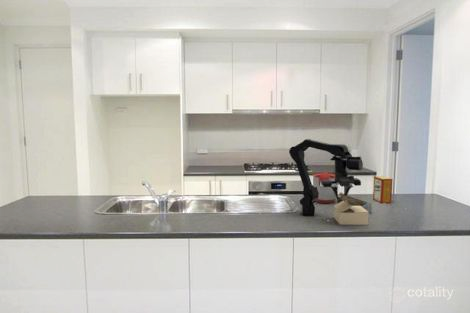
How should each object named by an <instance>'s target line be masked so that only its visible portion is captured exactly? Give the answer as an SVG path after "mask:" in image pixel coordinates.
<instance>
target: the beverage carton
mask: <svg viewBox="0 0 470 313" xmlns="http://www.w3.org/2000/svg"><path fill="white" fill-rule="evenodd" d="M347 200H348V202H349V204H351V205H352V206H361V207H363V208H364V209H365V210H367V211H368V212H369V214H372V205H373V204H372V203H371V202H368V201H364V200H361V199H358V198H355V197H351V196H348V195H347ZM342 201H343V199H342V197H341V196H338V199H336V202H337V203H336V204H338V203H340V202H342ZM369 214H368V215H369Z"/></svg>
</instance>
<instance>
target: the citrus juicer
mask: <svg viewBox="0 0 470 313" xmlns="http://www.w3.org/2000/svg"><path fill="white" fill-rule="evenodd" d="M334 178H335V173H334V174H333V173H329V172H327V171H326V170H324V171H323V172H322V173H313V174H312V185H313V186H314V187H317V190H318V192H319V194H318V195H319V197H318V199H317V200H316V201H315V202H317V203H321V204H322V203H323V204H332V203H334V202H335V200H336V196H335V194H334V191H333V189H332V188H331V187H323V186H322V185H321V181H322V180H330V181H335V180H334ZM336 186H337V187H338V184H337V185H336Z"/></svg>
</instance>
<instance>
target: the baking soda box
mask: <svg viewBox="0 0 470 313" xmlns="http://www.w3.org/2000/svg"><path fill="white" fill-rule="evenodd" d="M392 192H393V178H391V177H387V176H386V175H385V176H384V175H380V176H379V175H377V176H374V177H373V192H372V193H373V194H372V200H373V201H375V202H377V203H379V204H382V205H383V203H386V204H392V195H393V194H392Z"/></svg>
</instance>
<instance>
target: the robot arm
mask: <svg viewBox="0 0 470 313" xmlns="http://www.w3.org/2000/svg"><path fill="white" fill-rule="evenodd" d="M309 148H312V149H316V150H320V151H323V152H328V153H329V154H331V155H332V157H331V158H330V161H334V170H333V172H334V175H335V178H334V180H335V181H330V180H322V181H321V185H322V186H323V187H331V188H332V189H333V191H334V194H335V196H336V197H335V200H337V199H338V197H339V193H338V185H339V186H341V187H343V194H344V195H345V196H348V194H349V191H350V189H352V188H354V186H362V181H361V179H359V178H357V177H355V176H354V175H348V171H347V169H348V170H350V171H362V170H363V167H364V163H363V160H362V156H353V155H352V154H351V153H350V150H349V147H347V145H346V144H337V143H336V144H334V143H332V144H331V143H325V142H323V141H319V140H313V139H310V138H306V139H304V140H303V141H301V142H300V143H298V144H296V145H295V146H291V147H290V148H289V150H288V154H289V156H290V157H291V159H292V160H293V161H294V163H295V165H296V168H297V171H298V174H299V176H300V177H299V178H300V180H301V183H302V187H303V189H302V190H303V191H302V195H303V197H302V198H301V199H299V203H300V205H301V211H300V214H301V215H302V216H303V217H304V216H305V217H307V216H310V217H312V216H313V217H314V216H315V214H316V213H315V212H316V207H315V204H314V203H316V202H317V201H316V200H317V199H318V197H319V195H318V194H319V192H318V190H317V187H314V186H313V182H312V181H311V178H310V174H309V171H308V168H307V165H306V162H305V155H306V154H305V152H306V150H308V149H309ZM336 185H337V186H336Z"/></svg>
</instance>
